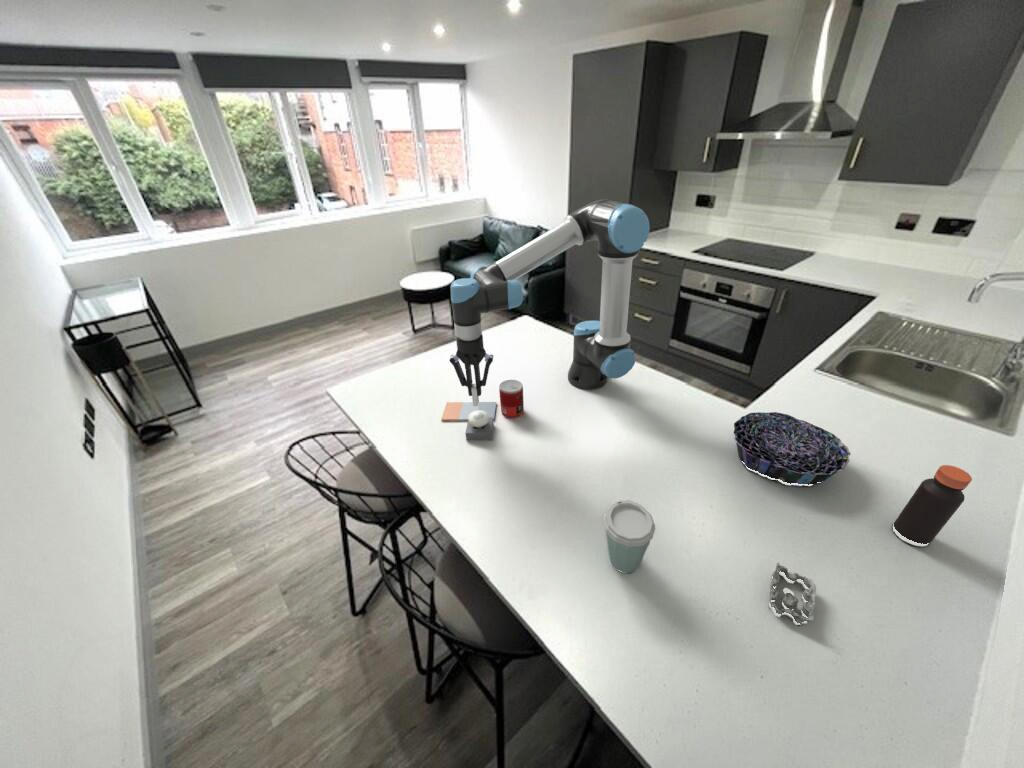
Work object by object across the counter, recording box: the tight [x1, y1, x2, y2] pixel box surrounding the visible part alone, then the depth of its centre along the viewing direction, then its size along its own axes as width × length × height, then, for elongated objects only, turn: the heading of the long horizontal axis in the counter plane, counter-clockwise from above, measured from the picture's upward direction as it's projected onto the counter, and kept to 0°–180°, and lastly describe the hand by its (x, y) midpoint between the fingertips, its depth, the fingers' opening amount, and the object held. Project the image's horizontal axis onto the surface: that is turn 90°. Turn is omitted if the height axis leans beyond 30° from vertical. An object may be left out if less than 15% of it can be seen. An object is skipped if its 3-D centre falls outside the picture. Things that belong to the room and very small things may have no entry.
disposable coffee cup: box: [602, 499, 656, 573], centre depth 90 cm, size 11×11×15 cm
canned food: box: [498, 379, 525, 419], centre depth 140 cm, size 8×8×11 cm
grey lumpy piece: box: [769, 562, 817, 625], centre depth 84 cm, size 11×8×4 cm
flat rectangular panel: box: [440, 401, 497, 422], centre depth 144 cm, size 18×10×1 cm, turn 87°
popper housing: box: [465, 417, 494, 441], centre depth 134 cm, size 8×8×3 cm
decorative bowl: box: [733, 411, 852, 485], centre depth 115 cm, size 26×28×10 cm
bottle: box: [893, 464, 973, 544], centre depth 90 cm, size 7×7×20 cm
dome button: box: [468, 410, 489, 429], centre depth 132 cm, size 6×6×6 cm
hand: (476, 403), depth 128 cm, fingers closed
